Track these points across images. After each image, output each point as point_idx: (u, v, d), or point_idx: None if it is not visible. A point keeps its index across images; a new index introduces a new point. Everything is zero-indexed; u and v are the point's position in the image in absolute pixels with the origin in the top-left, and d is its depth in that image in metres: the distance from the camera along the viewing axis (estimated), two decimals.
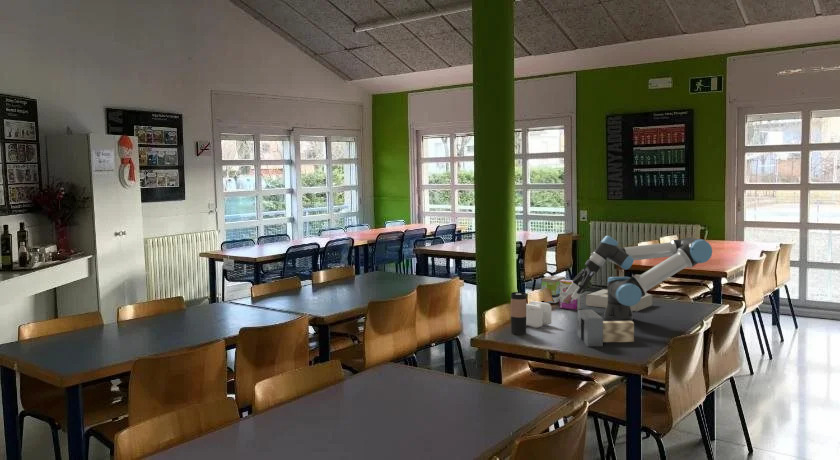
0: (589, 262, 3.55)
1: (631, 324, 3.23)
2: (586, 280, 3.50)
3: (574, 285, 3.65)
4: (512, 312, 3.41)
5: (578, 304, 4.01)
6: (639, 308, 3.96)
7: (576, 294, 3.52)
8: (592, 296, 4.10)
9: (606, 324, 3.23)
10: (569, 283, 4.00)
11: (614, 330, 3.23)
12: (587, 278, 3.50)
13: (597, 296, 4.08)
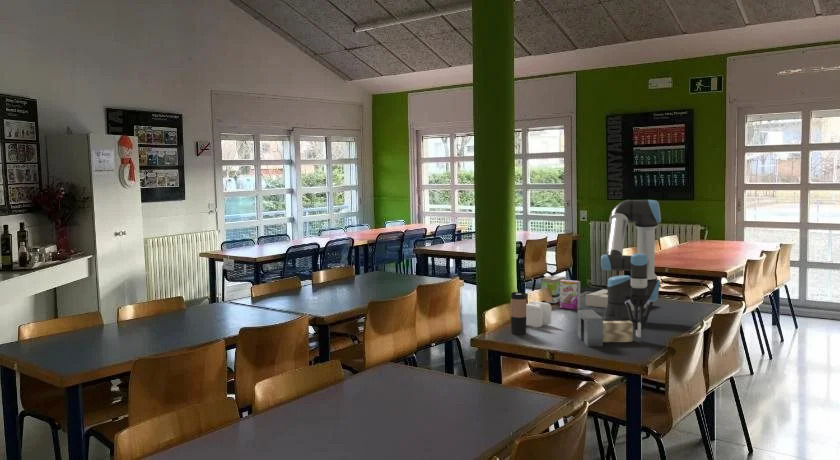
0: (645, 291, 3.21)
1: (630, 324, 3.23)
2: None
3: None
4: (512, 312, 3.41)
5: (578, 304, 4.01)
6: (638, 308, 3.96)
7: None
8: (592, 296, 4.10)
9: (605, 324, 3.23)
10: (569, 283, 4.00)
11: (613, 330, 3.23)
12: None
13: (596, 296, 4.08)
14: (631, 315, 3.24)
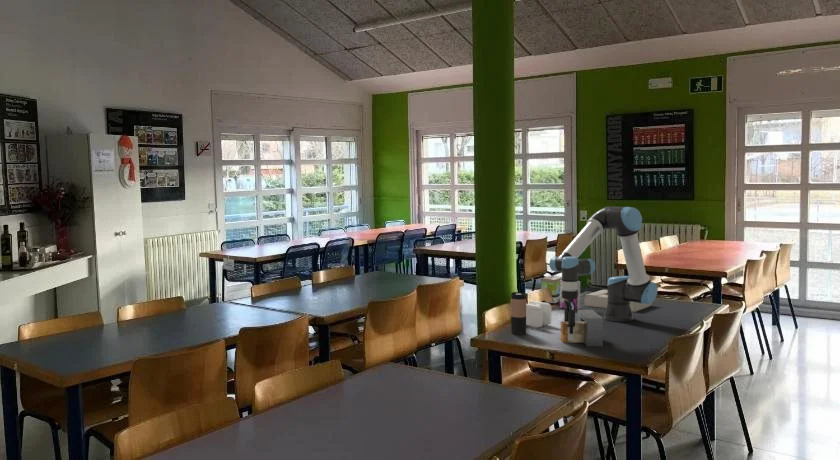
0: None
1: None
2: None
3: None
4: (512, 312, 3.41)
5: (578, 304, 4.01)
6: (637, 308, 3.95)
7: None
8: (590, 296, 4.10)
9: None
10: None
11: (582, 330, 3.23)
12: None
13: (595, 296, 4.08)
14: None
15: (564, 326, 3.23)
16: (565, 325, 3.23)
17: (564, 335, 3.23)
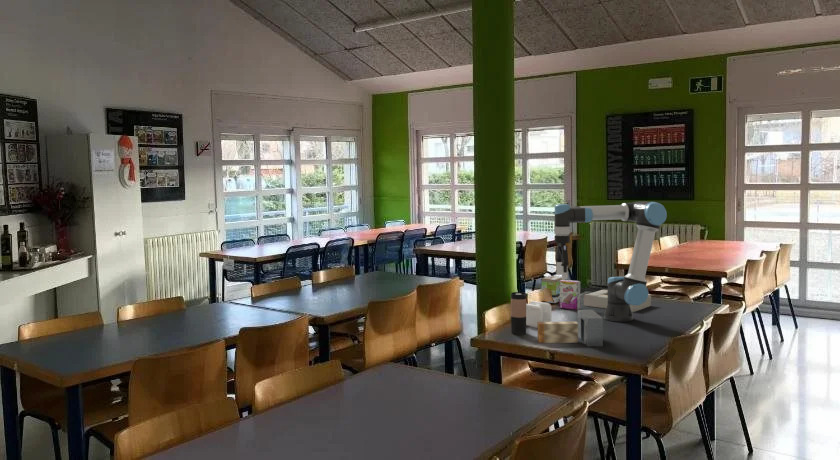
0: None
1: (575, 325, 3.23)
2: None
3: None
4: (512, 312, 3.41)
5: (578, 304, 4.01)
6: (636, 309, 3.94)
7: None
8: (590, 296, 4.09)
9: (550, 325, 3.23)
10: (569, 283, 4.00)
11: (558, 331, 3.23)
12: None
13: (595, 296, 4.07)
14: None
15: (540, 326, 3.23)
16: (541, 325, 3.23)
17: (540, 335, 3.24)
